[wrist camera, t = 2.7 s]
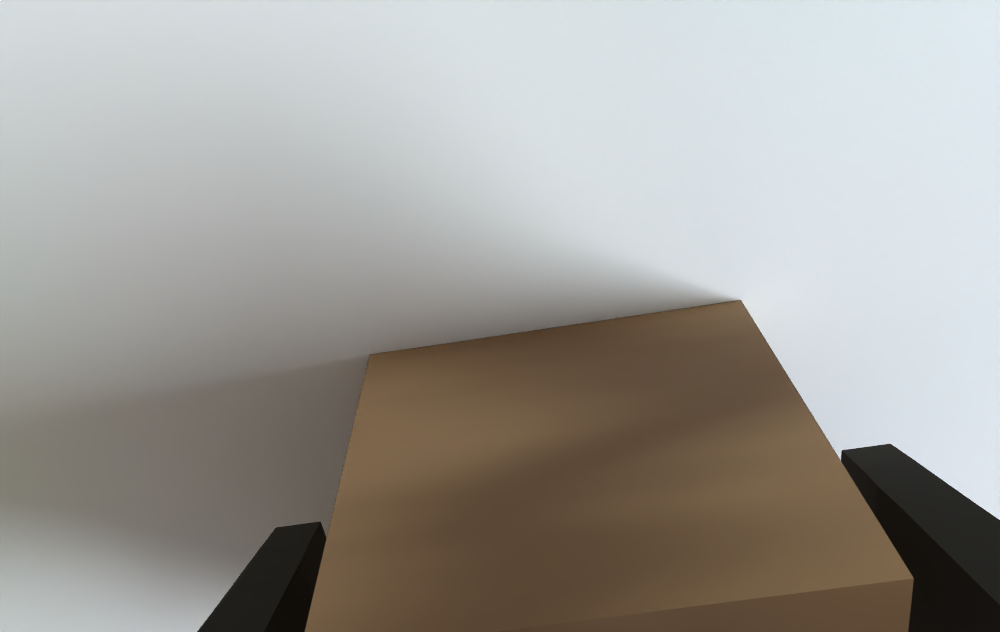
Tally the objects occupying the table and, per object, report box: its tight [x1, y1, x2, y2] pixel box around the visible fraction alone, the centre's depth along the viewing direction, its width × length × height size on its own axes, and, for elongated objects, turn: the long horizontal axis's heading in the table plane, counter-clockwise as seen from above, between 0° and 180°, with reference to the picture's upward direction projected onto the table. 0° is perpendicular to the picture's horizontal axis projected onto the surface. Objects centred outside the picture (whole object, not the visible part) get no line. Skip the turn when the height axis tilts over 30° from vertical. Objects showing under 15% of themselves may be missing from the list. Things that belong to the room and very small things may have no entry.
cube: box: [305, 300, 914, 632], centre depth 10 cm, size 5×5×5 cm
